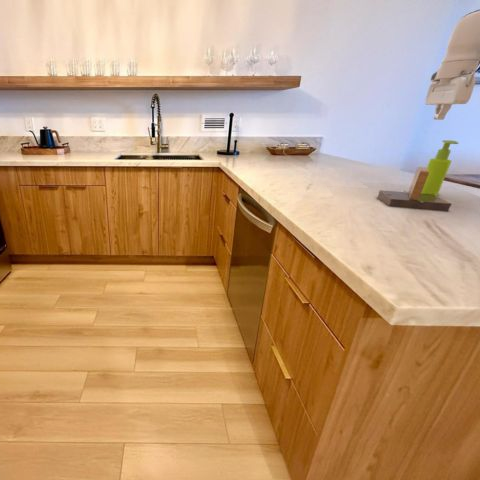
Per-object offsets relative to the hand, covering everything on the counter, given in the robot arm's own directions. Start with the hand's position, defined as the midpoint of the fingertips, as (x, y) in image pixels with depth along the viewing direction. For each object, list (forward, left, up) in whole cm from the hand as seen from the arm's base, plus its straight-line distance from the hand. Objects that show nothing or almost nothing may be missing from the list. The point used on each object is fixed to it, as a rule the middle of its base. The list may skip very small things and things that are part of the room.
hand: (438, 119), depth 97 cm
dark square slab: (+4, +12, -27) cm, 30 cm away
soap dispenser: (-8, -6, -27) cm, 29 cm away
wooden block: (+4, +12, -24) cm, 27 cm away
